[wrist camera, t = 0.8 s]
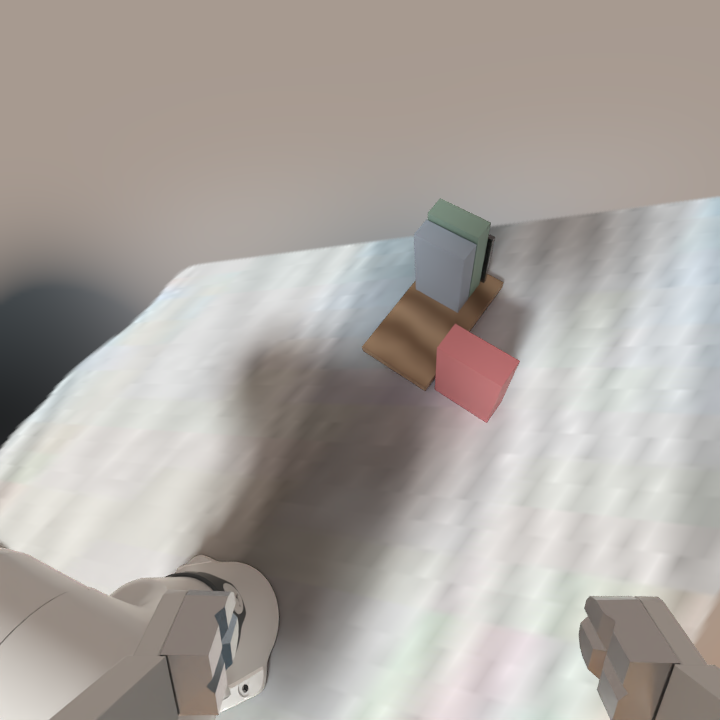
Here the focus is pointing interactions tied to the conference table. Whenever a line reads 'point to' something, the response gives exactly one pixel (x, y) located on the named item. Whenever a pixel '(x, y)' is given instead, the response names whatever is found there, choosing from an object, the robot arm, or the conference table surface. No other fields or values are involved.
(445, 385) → the tall pink pillar
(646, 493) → the conference table surface
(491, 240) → the bookend
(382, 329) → the board
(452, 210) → the shelved books
